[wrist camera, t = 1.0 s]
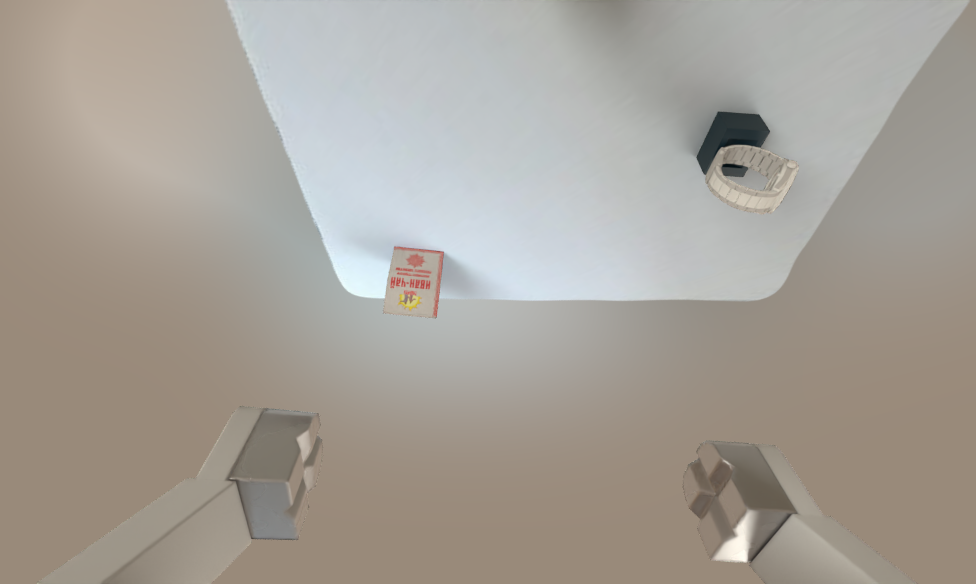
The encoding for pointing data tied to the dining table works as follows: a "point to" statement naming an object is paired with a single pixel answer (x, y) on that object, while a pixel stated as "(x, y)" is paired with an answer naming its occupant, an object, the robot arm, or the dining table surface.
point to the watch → (744, 163)
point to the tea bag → (414, 282)
